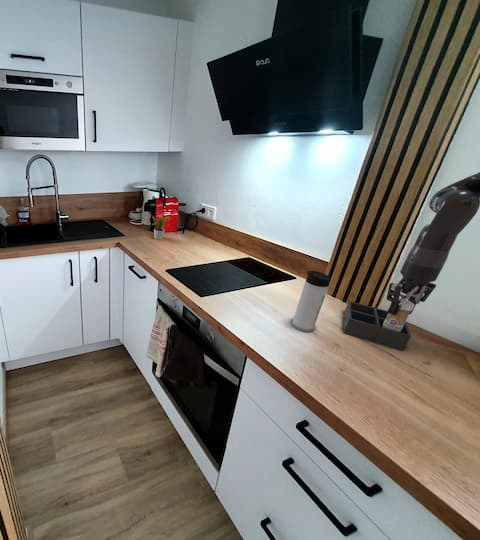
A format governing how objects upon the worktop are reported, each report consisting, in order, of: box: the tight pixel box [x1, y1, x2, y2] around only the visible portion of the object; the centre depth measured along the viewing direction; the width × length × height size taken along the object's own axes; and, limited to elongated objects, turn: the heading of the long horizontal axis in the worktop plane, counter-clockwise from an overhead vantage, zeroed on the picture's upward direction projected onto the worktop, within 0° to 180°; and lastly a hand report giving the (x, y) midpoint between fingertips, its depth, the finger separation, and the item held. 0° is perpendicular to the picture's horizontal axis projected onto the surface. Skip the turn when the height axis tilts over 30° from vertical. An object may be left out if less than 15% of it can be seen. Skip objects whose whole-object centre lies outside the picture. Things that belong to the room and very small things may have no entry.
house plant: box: [151, 214, 170, 241], centre depth 180 cm, size 14×14×16 cm
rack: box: [342, 300, 412, 352], centre depth 94 cm, size 15×15×6 cm
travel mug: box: [291, 270, 332, 333], centre depth 93 cm, size 6×7×20 cm
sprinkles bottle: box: [382, 298, 415, 332], centre depth 88 cm, size 5×5×13 cm
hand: (399, 313), depth 87 cm, fingers closed on sprinkles bottle, 4 cm apart
